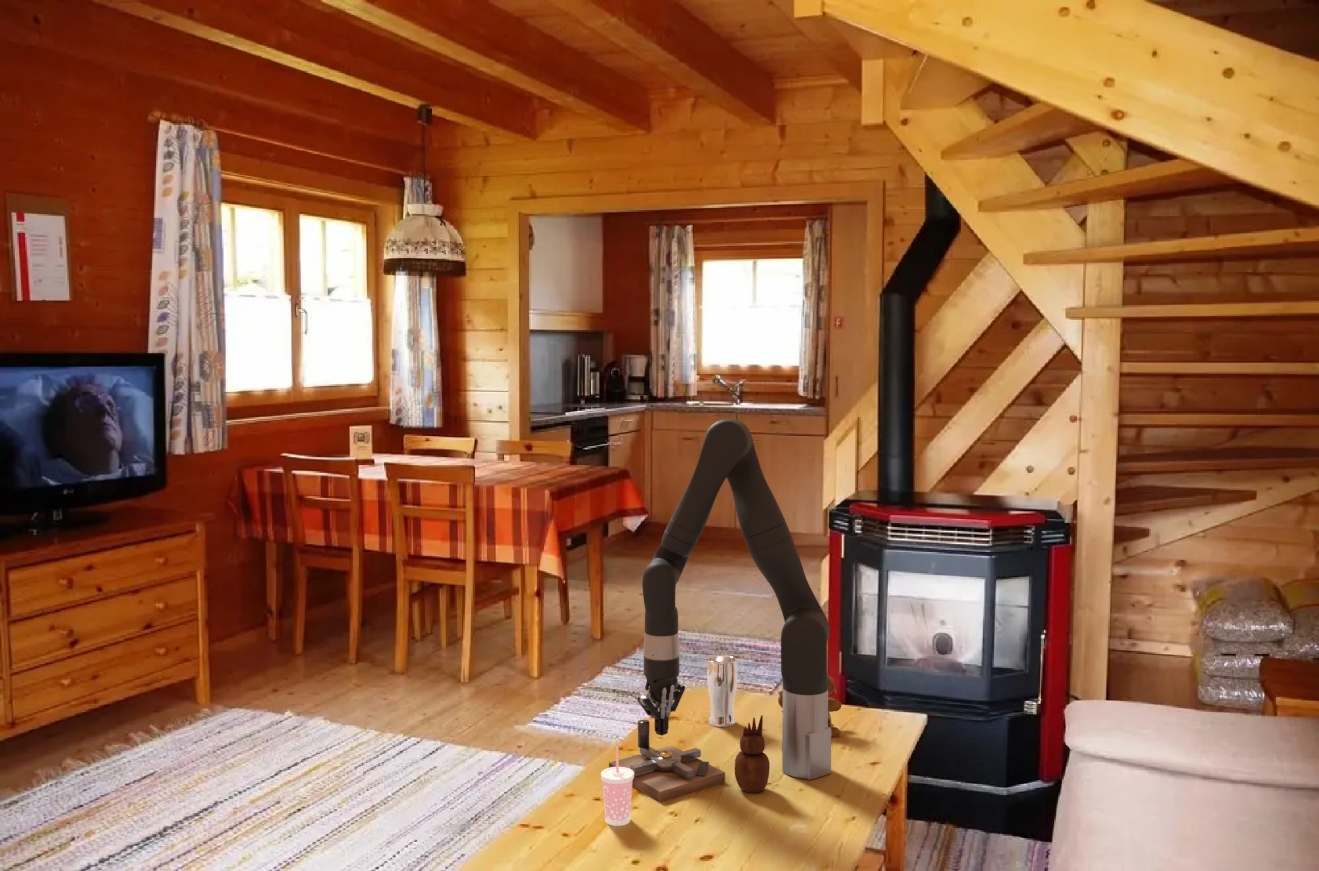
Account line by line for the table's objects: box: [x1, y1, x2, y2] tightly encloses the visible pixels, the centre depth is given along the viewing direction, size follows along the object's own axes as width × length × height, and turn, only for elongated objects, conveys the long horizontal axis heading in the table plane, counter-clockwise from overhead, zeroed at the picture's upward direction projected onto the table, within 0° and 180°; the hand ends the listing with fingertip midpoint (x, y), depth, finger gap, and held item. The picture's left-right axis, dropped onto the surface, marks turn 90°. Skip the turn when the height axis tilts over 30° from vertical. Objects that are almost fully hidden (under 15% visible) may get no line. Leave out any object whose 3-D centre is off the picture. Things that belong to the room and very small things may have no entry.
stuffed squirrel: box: [777, 674, 843, 738], centre depth 246 cm, size 10×14×13 cm
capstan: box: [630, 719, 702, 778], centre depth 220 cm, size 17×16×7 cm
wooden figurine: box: [734, 715, 771, 794], centre depth 213 cm, size 7×6×15 cm
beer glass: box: [706, 654, 738, 728], centre depth 251 cm, size 7×7×15 cm
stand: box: [608, 745, 726, 803], centre depth 220 cm, size 18×16×2 cm
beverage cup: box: [600, 745, 634, 827], centre depth 200 cm, size 6×6×14 cm
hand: (661, 733), depth 229 cm, fingers closed
